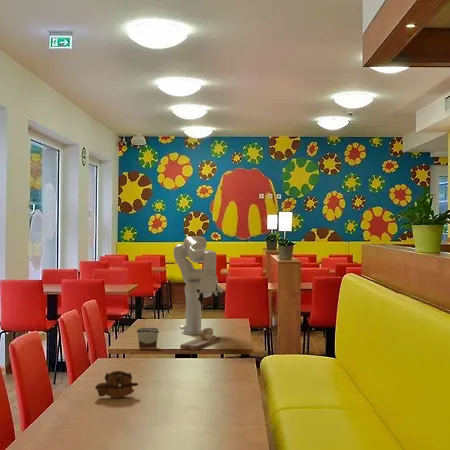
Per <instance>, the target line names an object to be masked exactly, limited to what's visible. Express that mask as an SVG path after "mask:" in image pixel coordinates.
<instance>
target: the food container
mask: <svg viewBox="0 0 450 450" xmlns="http://www.w3.org/2000/svg"><path fill="white" fill-rule="evenodd" d="M136 334H137V338H138V339H137V340H138V348H139V347H146V348H147V349H157V343H158V336H159V335H158V334H160V331H159V328H157V327H139V328H137V330H136ZM146 348H145V349H146Z"/></svg>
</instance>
